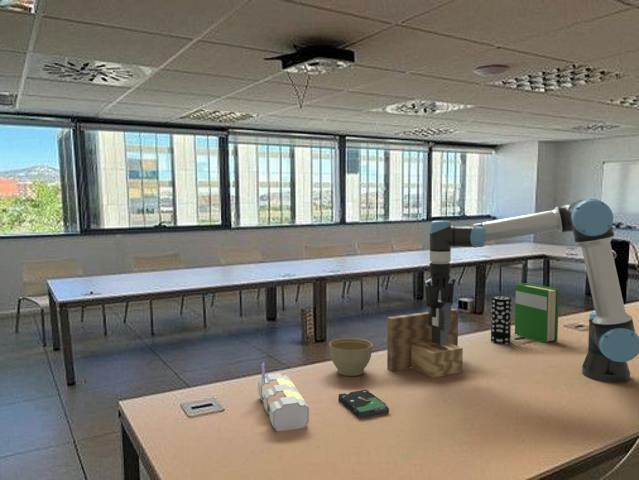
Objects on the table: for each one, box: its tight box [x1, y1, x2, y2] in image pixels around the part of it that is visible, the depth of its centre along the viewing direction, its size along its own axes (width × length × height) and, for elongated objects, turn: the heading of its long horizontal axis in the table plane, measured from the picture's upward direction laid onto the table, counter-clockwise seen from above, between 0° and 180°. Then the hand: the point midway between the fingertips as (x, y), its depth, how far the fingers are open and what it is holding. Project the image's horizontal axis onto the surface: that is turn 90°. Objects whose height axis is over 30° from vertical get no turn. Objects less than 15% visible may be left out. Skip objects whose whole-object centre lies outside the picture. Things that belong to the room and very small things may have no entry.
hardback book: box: [514, 282, 560, 345], centre depth 227 cm, size 18×7×24 cm, turn 25°
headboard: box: [386, 308, 464, 379], centre depth 186 cm, size 32×16×20 cm, turn 117°
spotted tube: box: [490, 295, 512, 345], centre depth 221 cm, size 8×8×20 cm
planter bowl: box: [328, 337, 373, 377], centre depth 183 cm, size 16×16×11 cm
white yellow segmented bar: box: [257, 362, 310, 432], centre depth 149 cm, size 25×10×13 cm, turn 16°
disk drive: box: [338, 389, 390, 420], centre depth 153 cm, size 10×3×15 cm
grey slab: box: [427, 299, 452, 346], centre depth 183 cm, size 3×9×16 cm, turn 27°
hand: (439, 324), depth 183 cm, fingers closed on grey slab, 3 cm apart
